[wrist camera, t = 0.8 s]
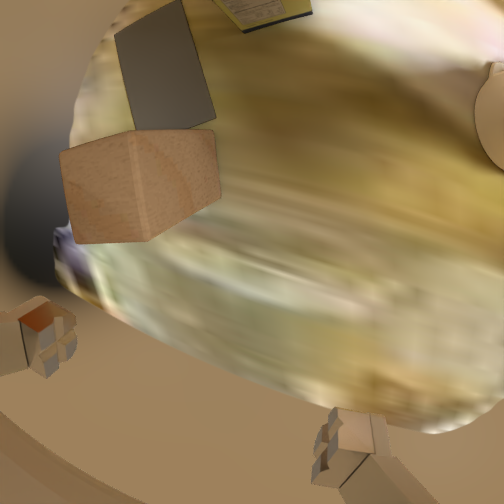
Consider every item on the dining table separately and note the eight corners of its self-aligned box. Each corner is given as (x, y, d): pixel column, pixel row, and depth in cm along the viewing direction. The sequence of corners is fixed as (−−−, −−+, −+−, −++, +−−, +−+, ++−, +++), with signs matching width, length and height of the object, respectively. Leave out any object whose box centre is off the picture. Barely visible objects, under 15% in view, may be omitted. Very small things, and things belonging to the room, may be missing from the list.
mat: (180, -1, 36) (179, -2, 36) (216, 117, 41) (215, 117, 41) (115, 35, 40) (113, 35, 40) (142, 148, 46) (141, 148, 45)
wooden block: (222, 198, 45) (149, 243, 27) (162, 203, 48) (74, 246, 29) (214, 129, 42) (131, 129, 24) (153, 140, 44) (56, 152, 26)
